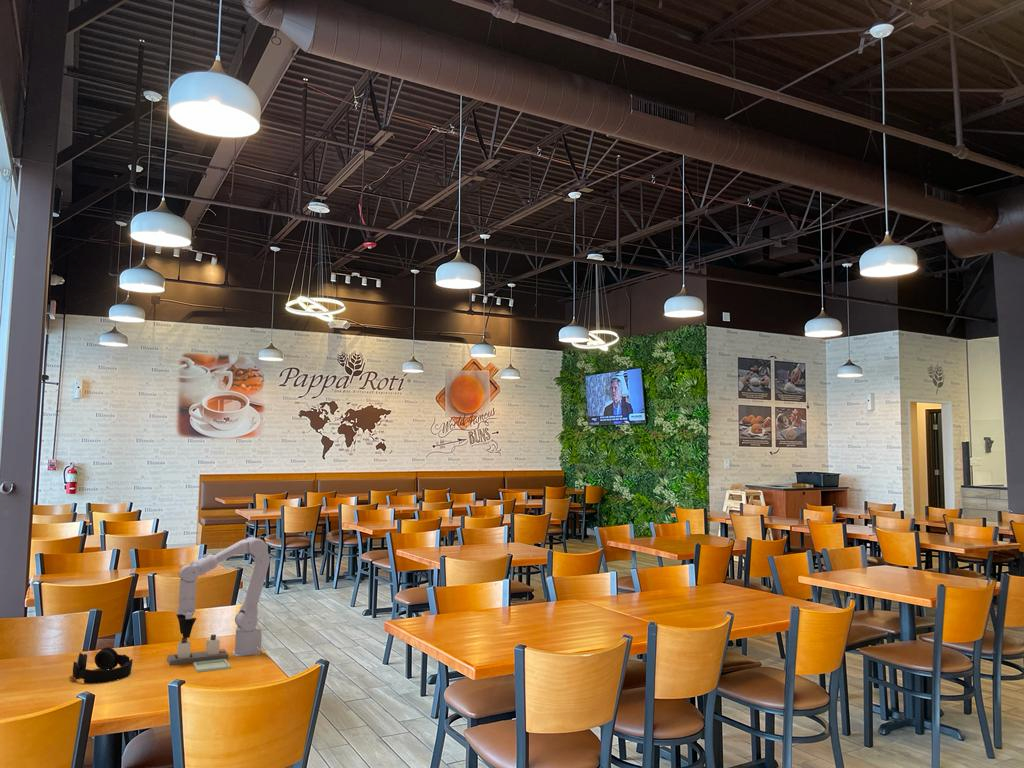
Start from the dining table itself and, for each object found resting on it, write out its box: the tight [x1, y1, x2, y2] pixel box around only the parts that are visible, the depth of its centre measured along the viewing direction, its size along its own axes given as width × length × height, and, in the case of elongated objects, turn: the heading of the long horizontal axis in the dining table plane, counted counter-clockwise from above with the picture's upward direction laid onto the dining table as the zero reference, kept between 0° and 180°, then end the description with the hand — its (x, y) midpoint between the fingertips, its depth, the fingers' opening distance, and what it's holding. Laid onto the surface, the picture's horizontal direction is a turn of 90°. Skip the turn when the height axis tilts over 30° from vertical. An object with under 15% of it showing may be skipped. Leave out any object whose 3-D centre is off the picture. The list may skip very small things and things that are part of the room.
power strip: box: [167, 634, 229, 666], centre depth 277 cm, size 20×9×9 cm, turn 120°
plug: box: [176, 637, 192, 659], centre depth 275 cm, size 4×4×9 cm
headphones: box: [72, 646, 133, 684], centre depth 256 cm, size 18×8×20 cm
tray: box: [192, 659, 232, 673], centre depth 267 cm, size 11×11×1 cm
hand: (185, 635), depth 275 cm, fingers open, 7 cm apart
